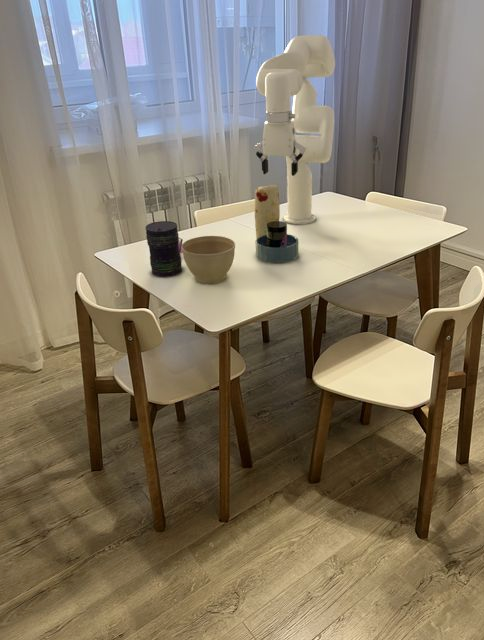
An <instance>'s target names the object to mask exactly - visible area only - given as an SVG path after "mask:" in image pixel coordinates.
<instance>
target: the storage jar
mask: <svg viewBox="0 0 484 640" xmlns="http://www.w3.org/2000/svg"><path fill="white" fill-rule="evenodd" d="M145 236H146V237H145V238H146V241H147V242H146V243H147V246H148V250H149V265H150V268H151V274H152V275H153V276H154V277H157V278H170V277H176V276H178V275H180V274H181V273H182V272H183V267H182V263H183V261H182V258H181V257H182V256H181V253H179V245H178V243H179V238H180V237H179V232H178V224H177V223H176V222H174V221H170V220H161V221H155V222H151V223H148V224H147V225H146V226H145ZM178 237H179V238H178Z"/></svg>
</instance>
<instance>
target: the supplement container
mask: <svg viewBox="0 0 484 640" xmlns="http://www.w3.org/2000/svg"><path fill="white" fill-rule="evenodd" d="M266 225H267V247H273V248H275V247H286V246H287V234H288V222H285V221H281V220H279V221H272V222H269V223H267V224H266Z"/></svg>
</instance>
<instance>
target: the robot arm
mask: <svg viewBox="0 0 484 640" xmlns="http://www.w3.org/2000/svg"><path fill="white" fill-rule="evenodd" d="M335 68H336V57H335V53H334V51H333V47H332V43H331V41H330V39H329V38H328V37H327V36H325V35H322V34H314V35H297V36H294V37H293V38H292V39H291V40H290V41H289V42H288V44H287V47H286V48H285V50H284V51H283V52H282V53H280V54H278V55H275V56H273V57H271V58H269V59H267V60H265V62H263V63H262V65H261V67H260V68H259V69H258V72H257V75H256V80H255V86H256V89H257V92H258V93H259V95H261V96H265V113H266V114H265V115H266V116H265V117H266V121H265V122H264V126H263V133H262V141H261V142H258V143H256V144H255V145H253V146H252V149H253V151H254V153H255V155H256V157H258V159H259V161H260V162H261V171H262V174H263V175H266V174H267V173H269V160H268V159H267V158H268V157H283V158H285V160H286V178H287V179H286V181H287V183H286V186H287V187H286V188H287V189H286V190H287V191H286V192H287V194H286V195H287V199H286V200H287V213H286V214H285V215H284V216H283V222H286V223H287V224H293V225H306V224H311V223H313V222H315V220H316V215H315V214H313V213H312V210H313V207H312V206H313V205H312V203H313V197H312V196H313V172H312V170H311V168H310V166H309V165H308V164H325V163H328V162H329V161H330V159H331V157H332V151H333V142H334V131H335V112H334V110H333V108H332V107H331V106H329V105H317V96H318V94H317V90H316V88H315V87H314V85H313V84H312V83H311V81H310V80H309V79H308V78H328V77H329V78H330V77H331V76H332V75H333V74H334V71H335ZM291 97H293V98H291ZM291 99H293V102H292V101H291ZM291 103H292V104H291ZM291 105H292V106H291ZM296 133H298V134H296ZM306 134H307V135H306ZM308 134H309V135H308ZM310 134H319V135H310ZM261 147H262V152H261V149H260V148H261Z"/></svg>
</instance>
